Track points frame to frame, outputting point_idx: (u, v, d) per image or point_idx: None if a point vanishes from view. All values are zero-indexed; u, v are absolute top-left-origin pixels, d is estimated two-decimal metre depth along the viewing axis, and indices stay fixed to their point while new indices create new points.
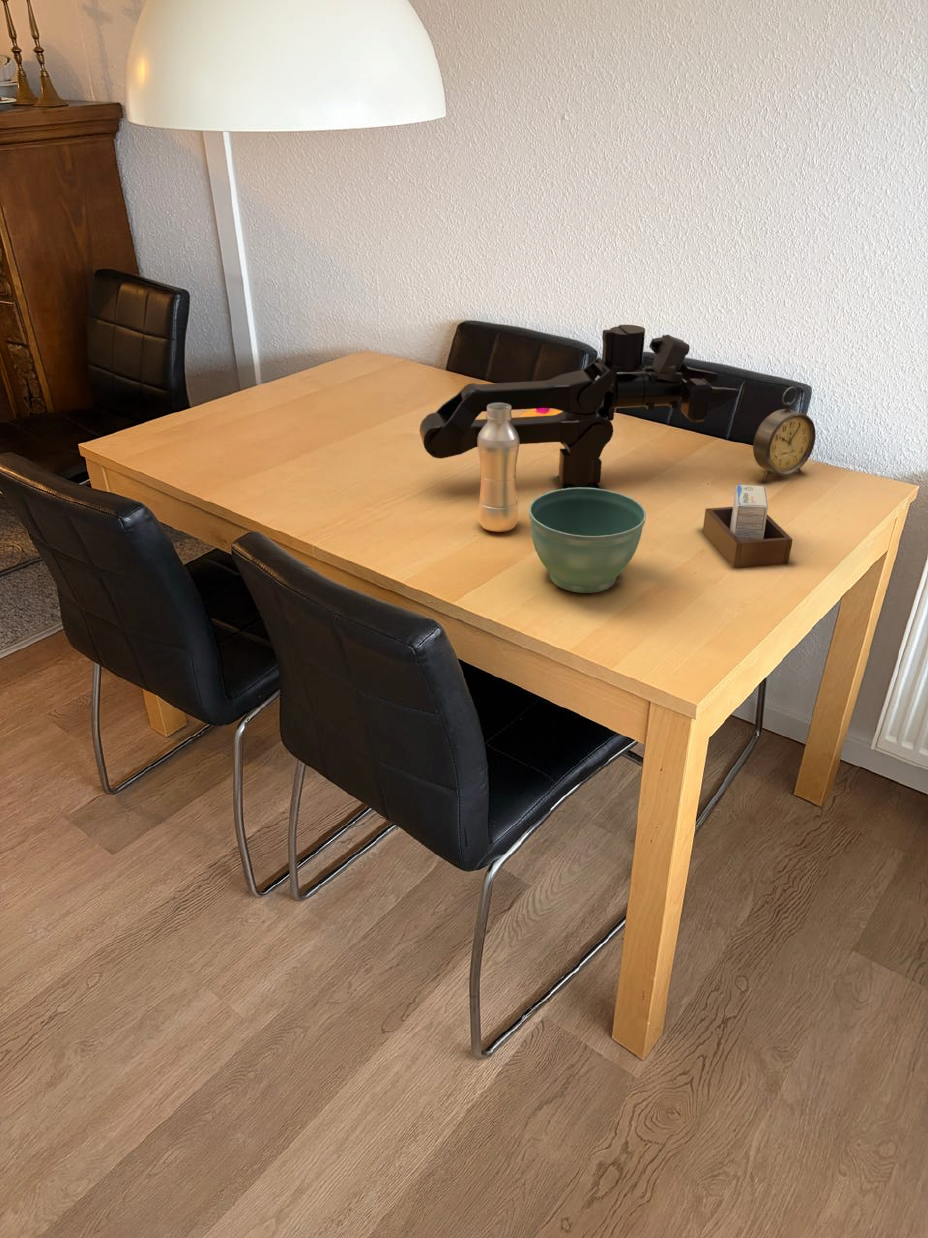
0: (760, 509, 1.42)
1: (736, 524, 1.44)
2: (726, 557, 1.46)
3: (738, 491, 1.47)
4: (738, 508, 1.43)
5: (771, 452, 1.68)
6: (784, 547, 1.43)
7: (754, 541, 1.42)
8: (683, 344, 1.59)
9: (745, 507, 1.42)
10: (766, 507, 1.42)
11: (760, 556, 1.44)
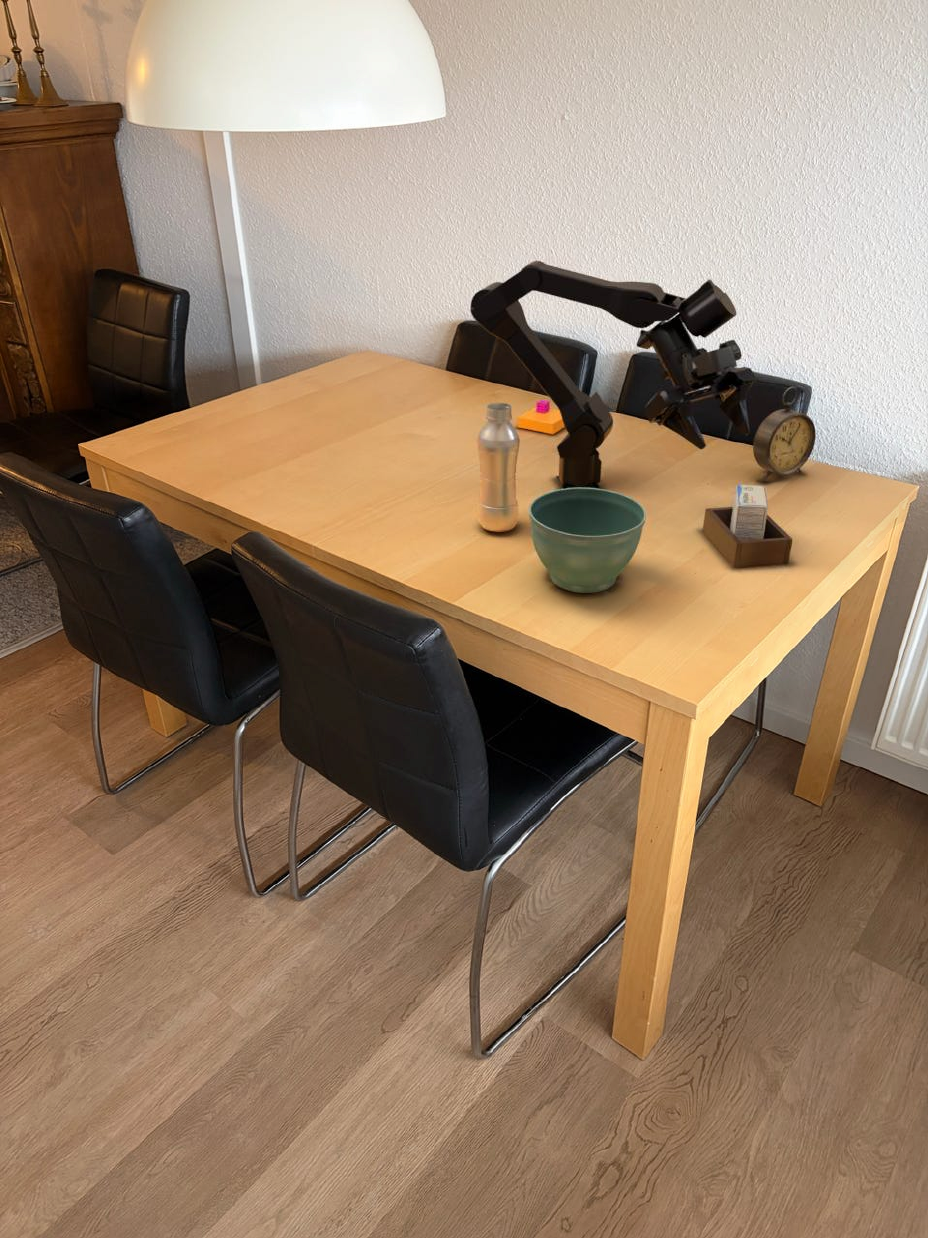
0: (760, 509, 1.42)
1: (736, 524, 1.44)
2: (726, 557, 1.46)
3: (738, 491, 1.47)
4: (738, 508, 1.43)
5: (771, 452, 1.68)
6: (784, 547, 1.43)
7: (754, 541, 1.42)
8: (716, 363, 1.44)
9: (745, 507, 1.42)
10: (766, 507, 1.42)
11: (760, 556, 1.44)
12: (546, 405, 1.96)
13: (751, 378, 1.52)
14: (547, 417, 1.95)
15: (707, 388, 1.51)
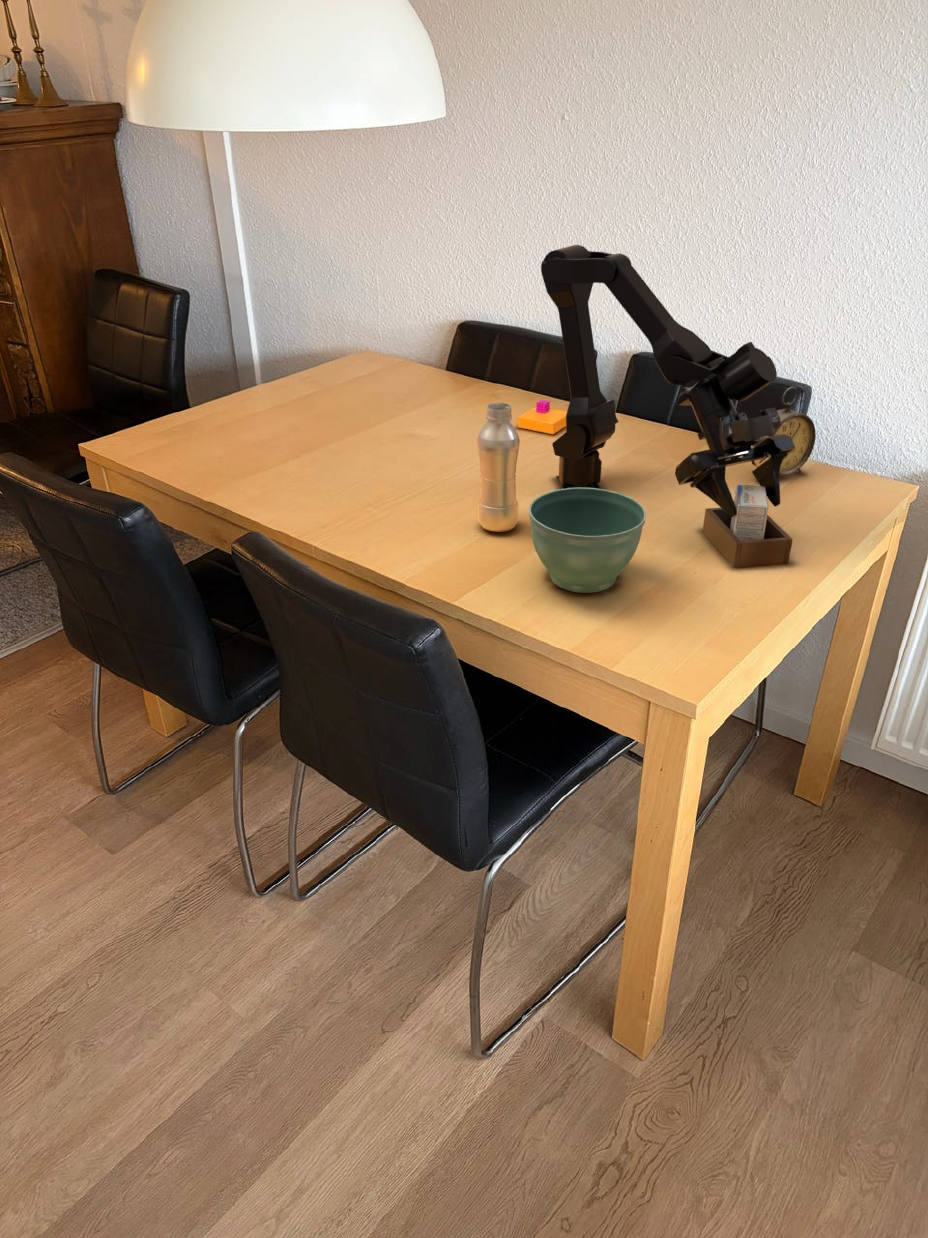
0: (760, 509, 1.42)
1: (736, 524, 1.44)
2: (726, 557, 1.46)
3: (739, 491, 1.47)
4: (739, 508, 1.43)
5: None
6: (784, 547, 1.43)
7: (754, 541, 1.42)
8: (752, 431, 1.39)
9: (745, 507, 1.42)
10: (767, 507, 1.42)
11: (760, 556, 1.44)
12: (546, 405, 1.96)
13: (790, 447, 1.47)
14: (547, 417, 1.95)
15: (745, 453, 1.46)
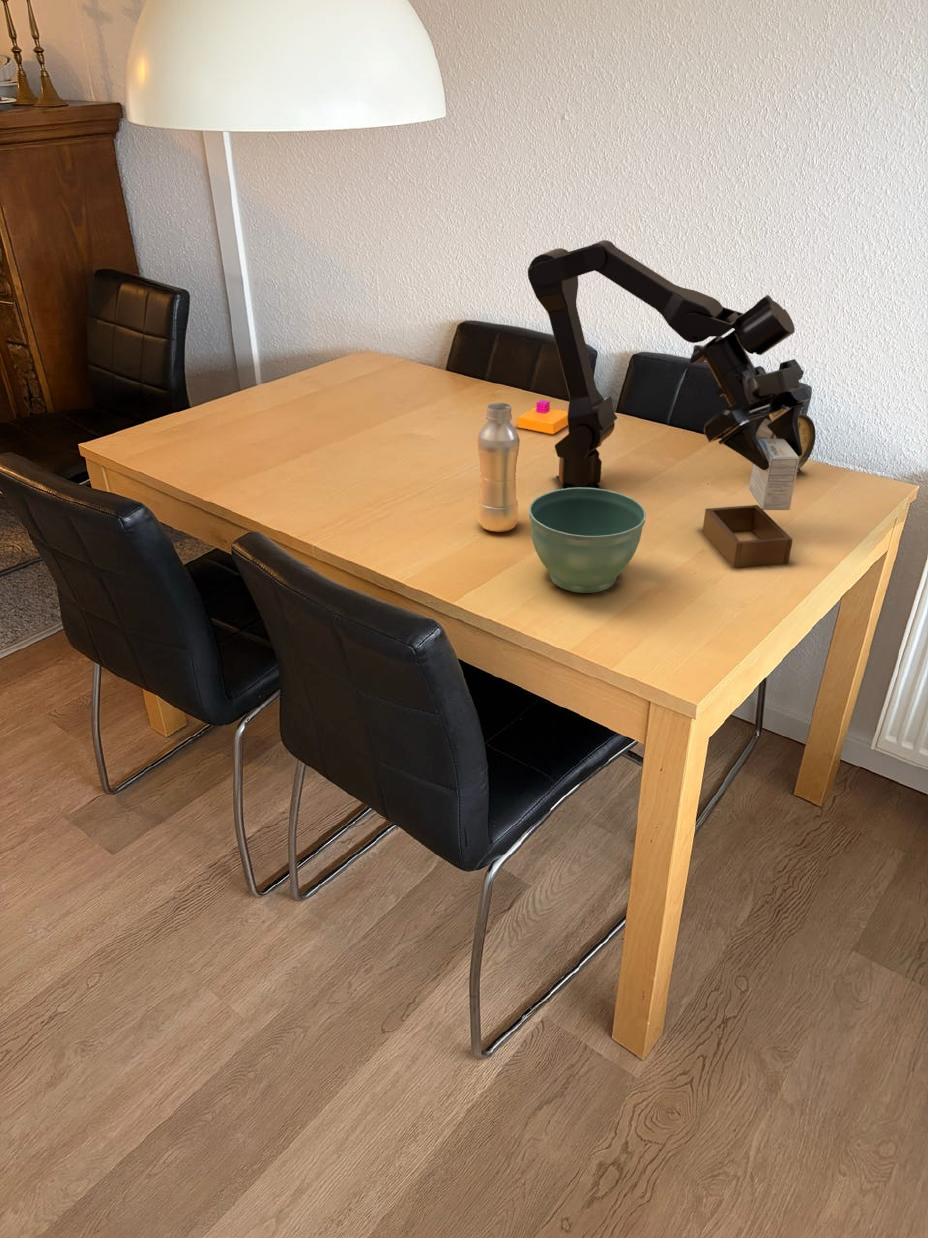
0: (792, 460, 1.44)
1: (768, 477, 1.45)
2: (726, 557, 1.46)
3: (763, 445, 1.48)
4: (771, 461, 1.44)
5: None
6: (784, 547, 1.43)
7: (754, 541, 1.42)
8: (782, 383, 1.40)
9: (778, 459, 1.44)
10: (798, 458, 1.44)
11: (760, 556, 1.44)
12: (546, 405, 1.96)
13: (805, 398, 1.49)
14: (547, 417, 1.95)
15: (767, 407, 1.47)
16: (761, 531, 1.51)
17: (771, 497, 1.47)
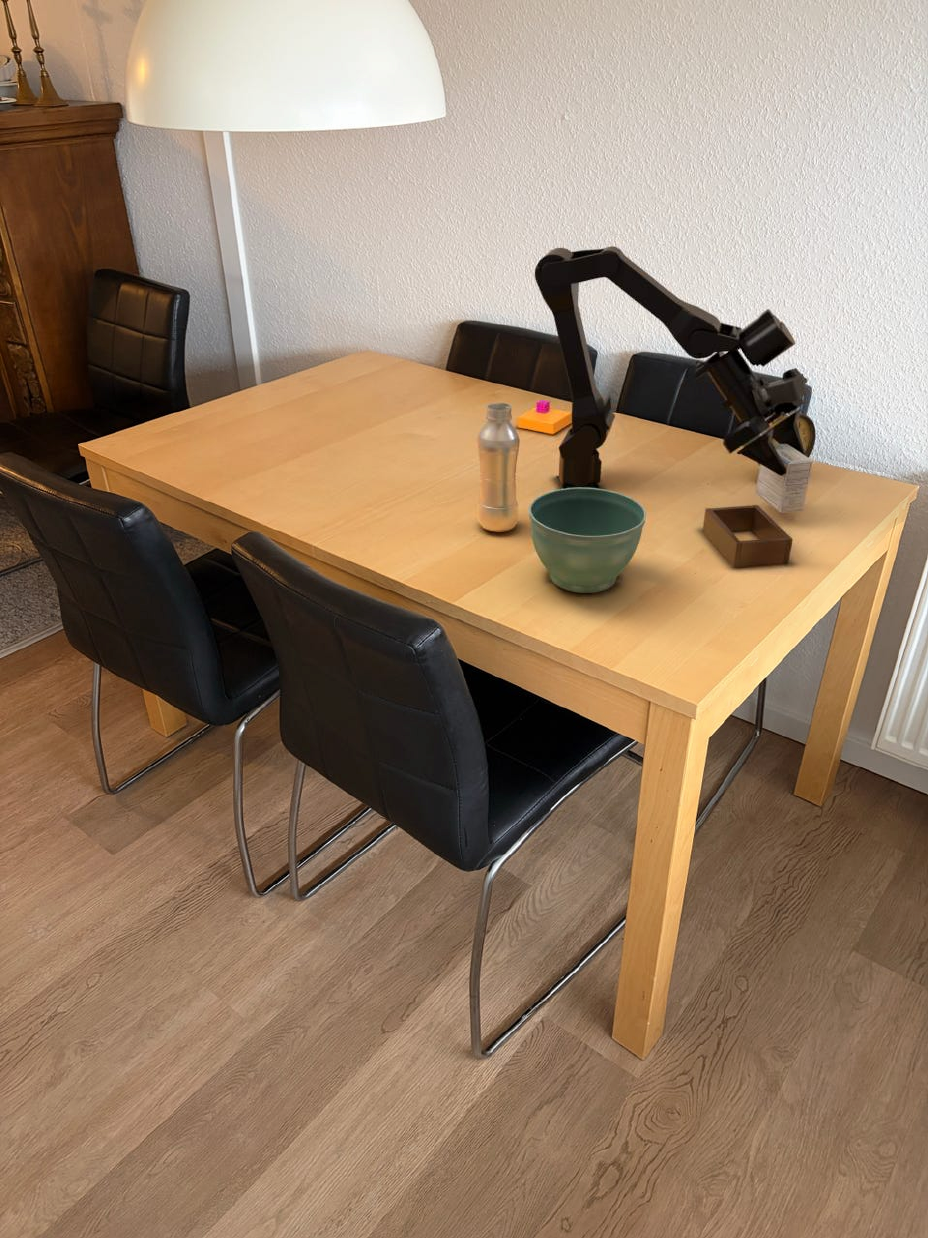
0: (806, 464, 1.51)
1: (786, 482, 1.52)
2: (726, 557, 1.46)
3: None
4: (789, 466, 1.51)
5: None
6: (784, 547, 1.43)
7: (754, 541, 1.42)
8: (795, 393, 1.47)
9: (794, 464, 1.51)
10: (811, 461, 1.52)
11: (760, 556, 1.44)
12: (546, 405, 1.96)
13: (801, 404, 1.58)
14: (547, 417, 1.95)
15: (773, 415, 1.54)
16: (761, 531, 1.51)
17: (788, 500, 1.54)
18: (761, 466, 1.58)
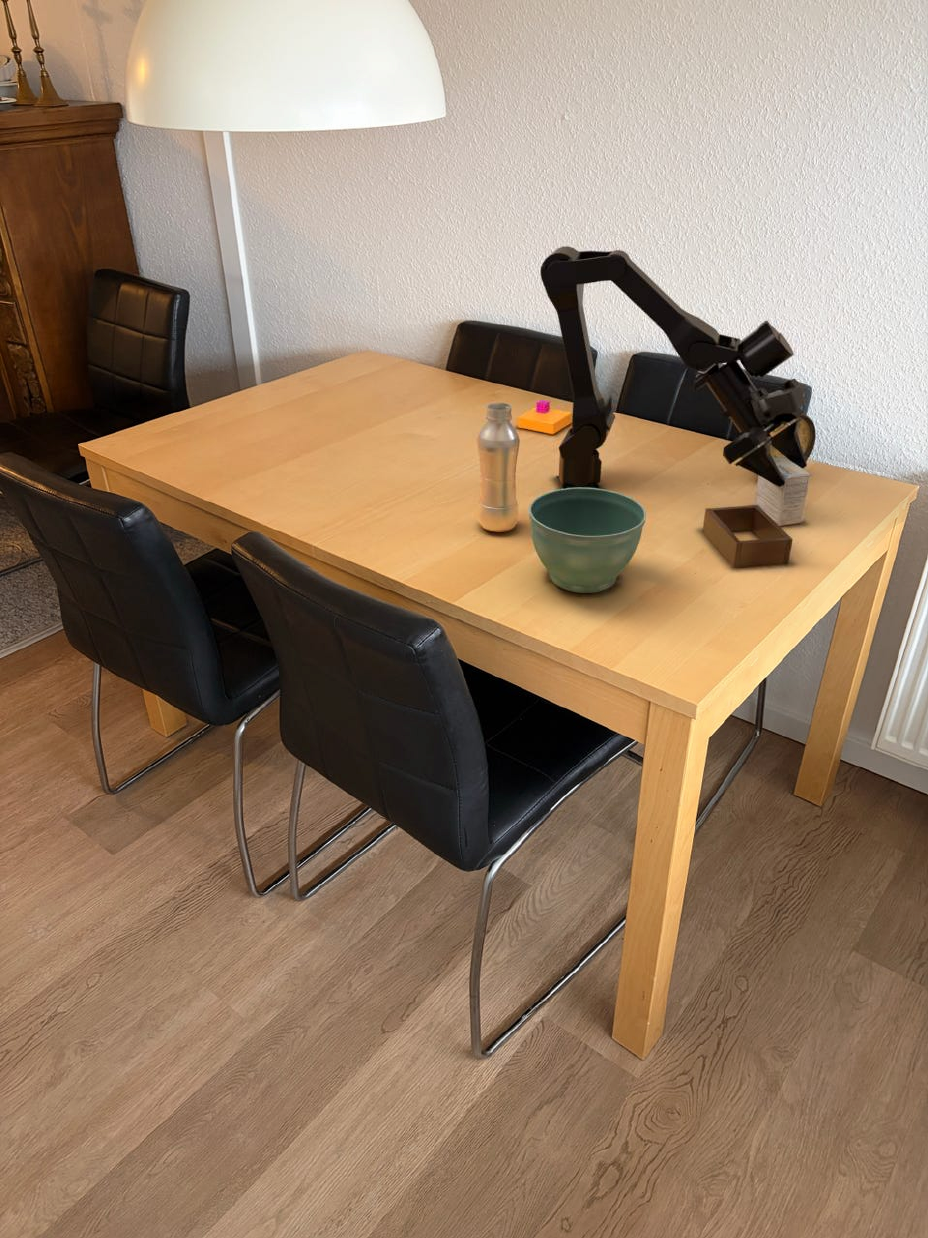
0: (804, 477, 1.52)
1: (784, 495, 1.53)
2: (726, 557, 1.46)
3: None
4: (786, 480, 1.52)
5: (771, 452, 1.68)
6: (784, 547, 1.43)
7: (754, 541, 1.42)
8: (794, 403, 1.48)
9: (792, 478, 1.52)
10: (809, 474, 1.53)
11: (760, 556, 1.44)
12: (546, 405, 1.96)
13: (800, 413, 1.58)
14: (547, 417, 1.95)
15: (771, 426, 1.54)
16: (761, 531, 1.51)
17: (787, 514, 1.55)
18: (759, 480, 1.59)
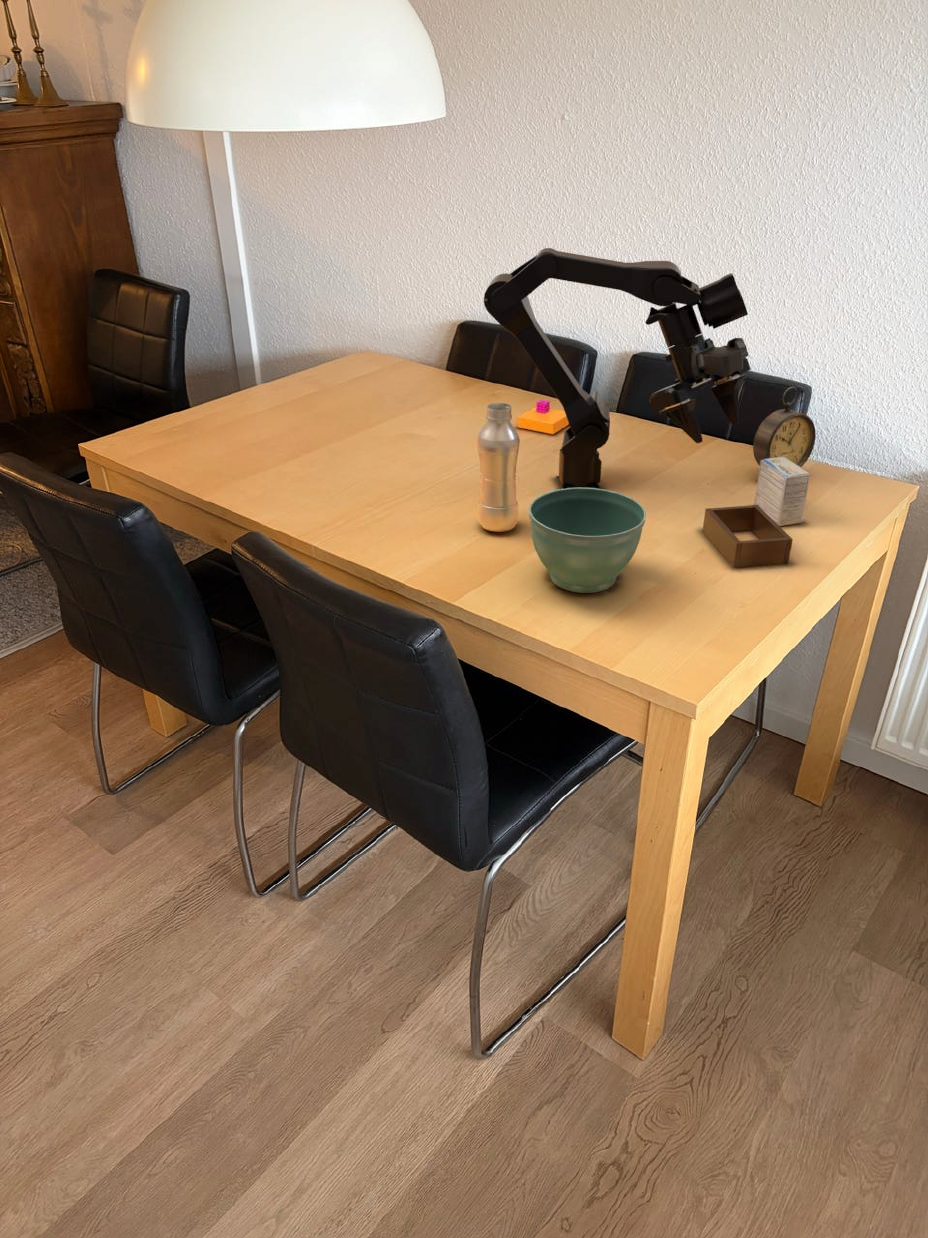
0: (804, 477, 1.52)
1: (784, 495, 1.53)
2: (726, 557, 1.46)
3: (770, 465, 1.56)
4: (786, 480, 1.52)
5: (771, 452, 1.68)
6: (784, 547, 1.43)
7: (754, 541, 1.42)
8: (727, 368, 1.49)
9: (792, 478, 1.52)
10: (809, 474, 1.53)
11: (760, 556, 1.44)
12: (546, 405, 1.96)
13: (747, 370, 1.58)
14: (547, 417, 1.95)
15: (708, 380, 1.56)
16: (761, 531, 1.51)
17: (787, 514, 1.55)
18: (759, 480, 1.59)
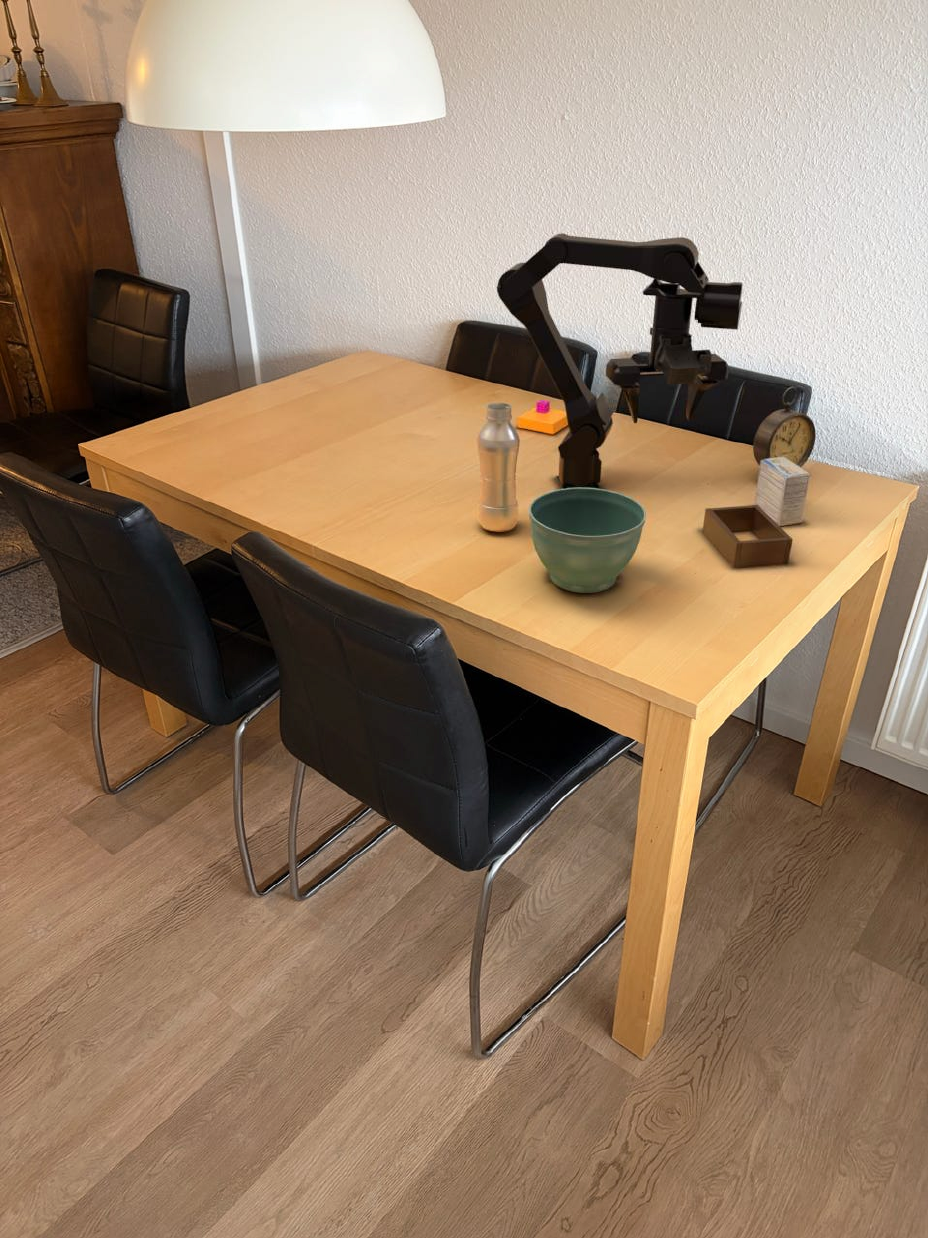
0: (804, 477, 1.52)
1: (784, 495, 1.53)
2: (726, 557, 1.46)
3: (770, 465, 1.56)
4: (786, 480, 1.52)
5: (771, 452, 1.68)
6: (784, 547, 1.43)
7: (754, 541, 1.42)
8: (672, 378, 1.49)
9: (792, 478, 1.52)
10: (809, 474, 1.53)
11: (760, 556, 1.44)
12: (546, 405, 1.96)
13: (720, 379, 1.56)
14: (547, 417, 1.95)
15: None
16: (761, 531, 1.51)
17: (787, 514, 1.55)
18: (759, 480, 1.59)
